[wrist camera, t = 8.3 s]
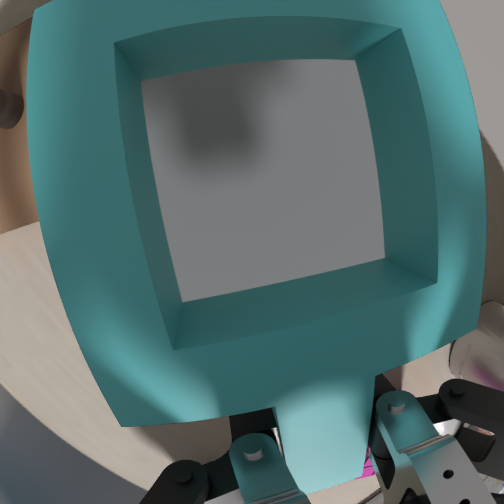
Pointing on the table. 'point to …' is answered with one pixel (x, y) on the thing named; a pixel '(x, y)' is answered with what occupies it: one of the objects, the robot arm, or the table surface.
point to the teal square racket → (274, 295)
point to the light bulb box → (493, 484)
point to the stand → (15, 132)
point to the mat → (263, 172)
